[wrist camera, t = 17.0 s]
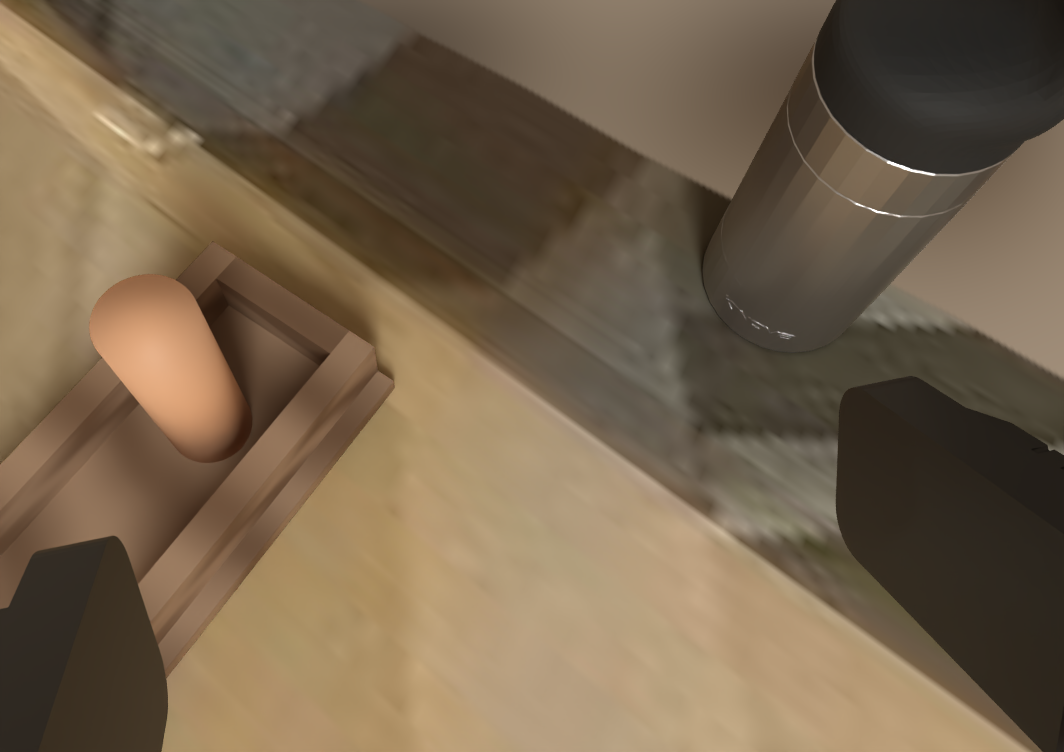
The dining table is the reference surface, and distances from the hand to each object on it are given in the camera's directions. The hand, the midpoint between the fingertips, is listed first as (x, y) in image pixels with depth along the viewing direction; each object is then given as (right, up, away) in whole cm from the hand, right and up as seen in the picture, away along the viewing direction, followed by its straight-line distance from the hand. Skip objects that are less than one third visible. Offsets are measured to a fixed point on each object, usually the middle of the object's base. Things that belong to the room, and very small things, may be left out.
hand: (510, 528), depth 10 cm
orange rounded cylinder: (-16, -1, +36) cm, 40 cm away
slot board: (-17, -3, +36) cm, 40 cm away
